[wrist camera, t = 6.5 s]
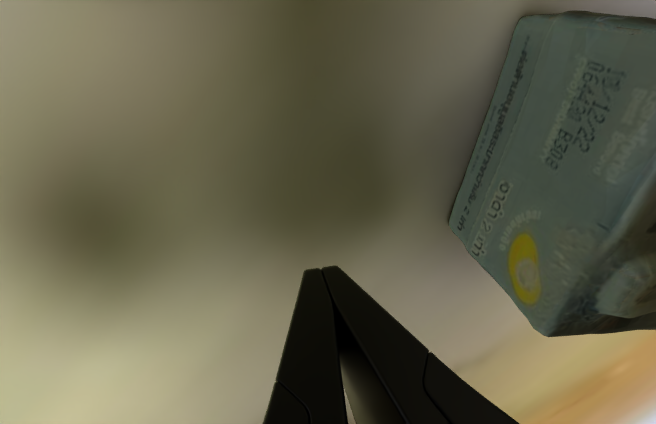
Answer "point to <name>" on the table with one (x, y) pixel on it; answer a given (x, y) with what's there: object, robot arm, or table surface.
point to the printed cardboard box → (569, 175)
